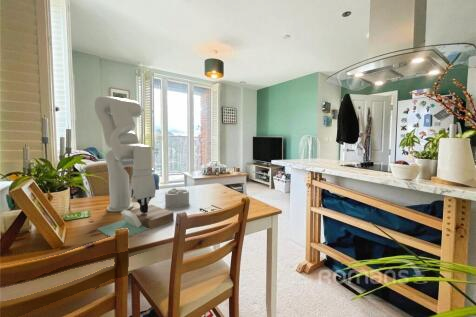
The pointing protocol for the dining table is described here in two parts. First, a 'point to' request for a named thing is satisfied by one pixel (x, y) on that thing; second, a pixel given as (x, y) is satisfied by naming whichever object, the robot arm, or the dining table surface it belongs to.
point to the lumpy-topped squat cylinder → (176, 197)
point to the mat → (111, 228)
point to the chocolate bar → (210, 208)
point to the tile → (131, 218)
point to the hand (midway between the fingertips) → (144, 212)
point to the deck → (154, 216)
